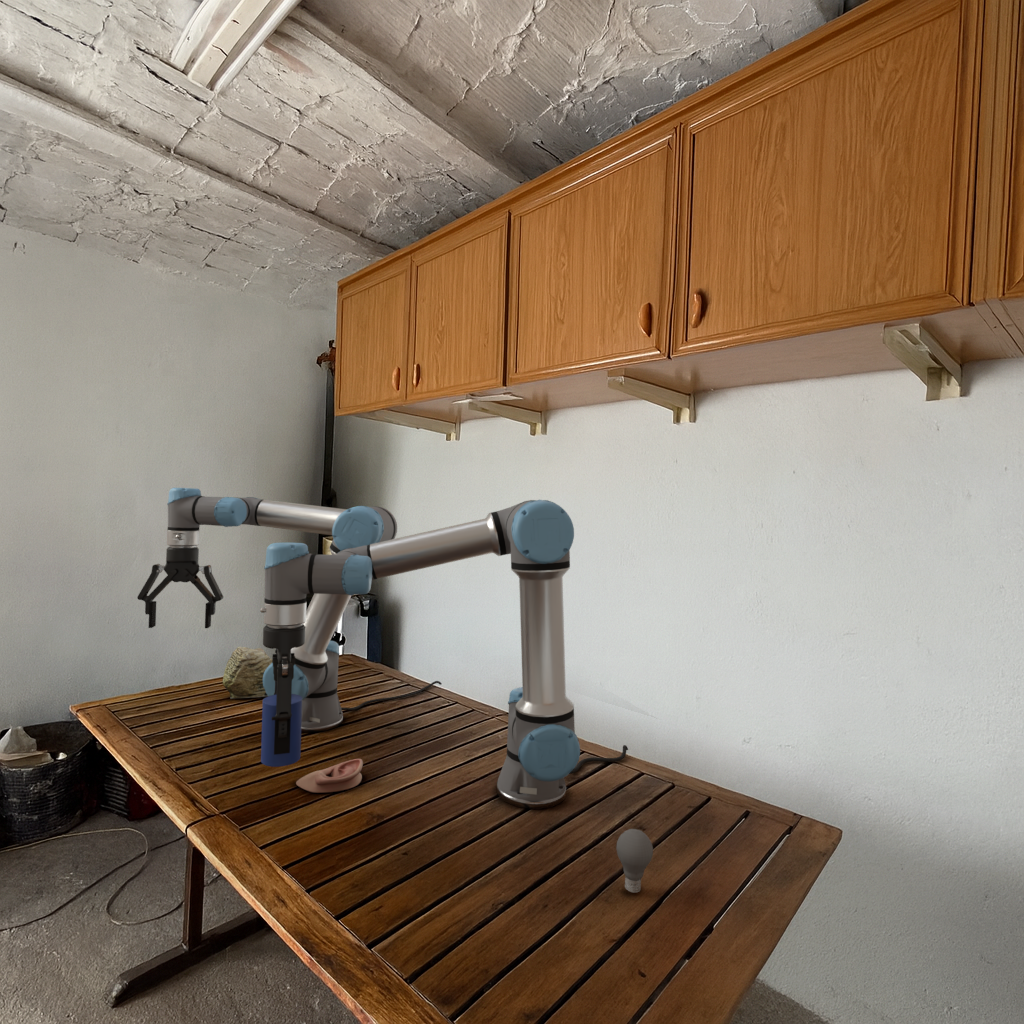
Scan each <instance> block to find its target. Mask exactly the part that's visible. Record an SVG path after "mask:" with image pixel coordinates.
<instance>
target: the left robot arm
mask: <svg viewBox="0 0 1024 1024" xmlns="http://www.w3.org/2000/svg"><path fill="white" fill-rule="evenodd" d="M203 525H204V526H215V527H216V526H217V527H225V528H228V527H239V526H241V525H246V526H247V525H249V526H256V527H265V528H272V529H281V530H288V531H296V532H304V533H311V534H320V535H327V536H332V540H331V543H330V545H329V551H330V552H329V553H330V555H336V554H337V553H338V552H340V551H341V550H343V549H346V548H351V547H352V548H356V547H360V546H365V545H370V544H374V543H378V542H383V541H387V540H391V539H396V536H397V534H398V522H397V519H396V517H395V516H394V514H393V513H392V512H391V511H390V510H388V509H387V508H384V507H382V506H377V505H376V506H375V505H374V506H373V505H372V506H367V505H357V506H353V507H350V508H347V509H346V508H338V507H329V506H322V505H313V504H306V503H297V502H296V503H295V502H289V501H280V500H279V501H278V500H271V499H263V498H262V499H261V498H258V497H254V496H252V497H251V496H246V497H238V496H237V497H234V496H233V497H232V496H205V495H202V492H201V490H200V488H194V487H193V488H192V487H172V488H170V489H169V491H168V500H167V529H166V545H167V548H166V551H165V553H166V556H165V557H166V558H165V565H163V564H160V563H156V564H153V565H152V567H151V572H150V574H149V576H148V578H147V580H146V581H145V583H144V585H143V586H142V588H141V590H140V591H139V593H138V595H137V599H138V600H139V601H142V602H144V603H145V604H144V605H145V606H144V613H145V615H148V629H153V628H155V627H156V625H157V621H156V620H157V601H156V600H155V599H156V598H157V597H158V595H159V594H160V593H161V592H162V591H164V589H165V588H166V587H167V586H169V584H170V583H172V582H173V583H180V582H181V583H188V582H189V583H191V584H192V585H193V586H195V588H196V589H197V590H198V591H199V593H200V594H201V595H202V596H203V597H204V598H205V599H206V600H207V602H206V603H205V612H204V613H205V615H204V629H209V628H211V627H212V616H214V615H215V614H216V603H217V602H220V601H222V600H223V599H224V595H223V593H222V591H221V588H220V586H219V584H218V583H217V581H216V578H215V577H214V575H213V572H212V565H210V564H207V565H201V566H200V563H199V555H200V553H199V552H200V549H199V547H197V546H199V545H200V527H201V526H203ZM163 571H164V572H165V574H167V575H166V576H165V577H164V579H163V580H162V581H161V582H160V583H159V584H158V585H157V586H156V587H155V588H154V589H153V590H152V591H150V590H151V589H152V587H153V585H154V583H155V582H156V580H157V579H158V577H159V575H160V574H161V573H163ZM199 572H201V574H203V575H204V578H205V580H206V582H207V584H208V586H209V588H210V590H211V591H210V590H209V589H208V587H207V586H206V584H204V583H203V581H201V578H200V577H199V576H198V573H199ZM149 592H150V594H149ZM351 597H352V595H345V594H313V596H312V598H311V599H310V600H311V601H310V602H309V605H308V607H307V608H306V622H305V623H303V625H304V626H305V643H304V644H303V645H302V646H300V647H297V648H296V647H294V648H292V649H291V653H294V656H295V665H294V678H293V679H292V693H291V694H296V695H300V696H301V697H302V721H301V733H316V732H325V731H329V730H332V729H335V728H337V727H339V726H340V725H342V723H343V722H344V714H343V711H349V712H351V711H356V710H359V709H360V708H362V707H364V706H365V705H368V704H371V703H375V702H384V701H385V702H386V701H392V700H398V699H403V698H407V697H411V696H412V697H413V696H416V695H419V694H420V693H422V692H423V691H425V690H426V689H429V688H431V687H432V686H433V685H435V684H438V685H442V682H441V681H439V680H435V681H433V682H431V683H430V684H428V685H426V686H423V687H422V688H420V689H419V690H417V691H414V692H410V693H406V694H401V695H395V696H391V697H390V696H389V697H381V698H375V699H370V700H366V701H364V702H362V703H360V704H359V705H357V706H354V707H345V706H344V707H343V706H341V702H340V699H339V695H338V682H339V662H340V661H339V660H340V645H339V643H338V642H337V641H335V640H332V638H333V635H334V634H335V631H336V629H337V628H338V625H339V623H340V621H341V619H342V617H343V614H344V612H345V610H346V609H347V606H348V604H349V602H350V599H351ZM263 687H264V688H265V691H266V694H267V695H268V696H272V695H274V693H275V681H274V674H273V663H271V664H270V665H269V666H268V667H267V669H266V670H265V672H264V675H263ZM268 696H267V697H268Z"/></svg>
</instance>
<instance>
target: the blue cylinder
mask: <svg viewBox="0 0 1024 1024" xmlns="http://www.w3.org/2000/svg"><path fill="white" fill-rule="evenodd" d="M261 705H262V711H261V743H260V744H261V746H260V747H261V748H260V763H261V764H262V765H264V766H266V767H271V768H277V767H278V768H279V767H285V766H290V765H293V764H295V763H297V762H298V761H300V759H301V753H302V751H301V750H302V732H301V721H302V697H301V696H300V695H296V694H291V714H292V716H291V726H290V753H285V754H276V755H274V734H275V720H272V717H275V715H276V695H272V696H265V697H263V699H262V704H261Z"/></svg>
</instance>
